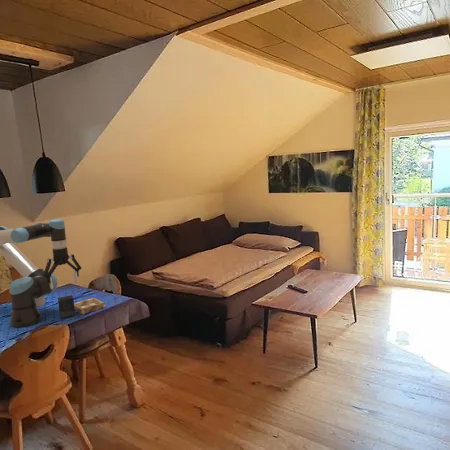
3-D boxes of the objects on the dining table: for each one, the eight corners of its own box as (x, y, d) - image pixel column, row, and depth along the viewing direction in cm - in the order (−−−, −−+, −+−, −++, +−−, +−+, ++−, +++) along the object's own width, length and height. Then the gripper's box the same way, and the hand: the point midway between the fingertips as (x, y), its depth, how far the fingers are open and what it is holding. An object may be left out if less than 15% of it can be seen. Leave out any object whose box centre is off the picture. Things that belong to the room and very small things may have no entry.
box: (74, 312, 228) (72, 294, 226) (75, 315, 223) (73, 297, 221) (59, 315, 225) (57, 297, 223) (60, 318, 220) (58, 300, 218)
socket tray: (81, 314, 224) (81, 309, 224) (72, 308, 234) (71, 303, 234) (105, 307, 233) (104, 302, 233) (94, 302, 244) (94, 297, 243)
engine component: (32, 302, 251) (24, 307, 241) (27, 270, 248) (20, 274, 238) (49, 301, 251) (43, 306, 241) (45, 269, 248) (38, 273, 238)
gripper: (38, 253, 207) (43, 292, 210) (84, 244, 224) (89, 281, 227) (33, 251, 213) (38, 289, 216) (79, 243, 229) (83, 279, 232)
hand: (64, 285), depth 221 cm, fingers open, 13 cm apart
